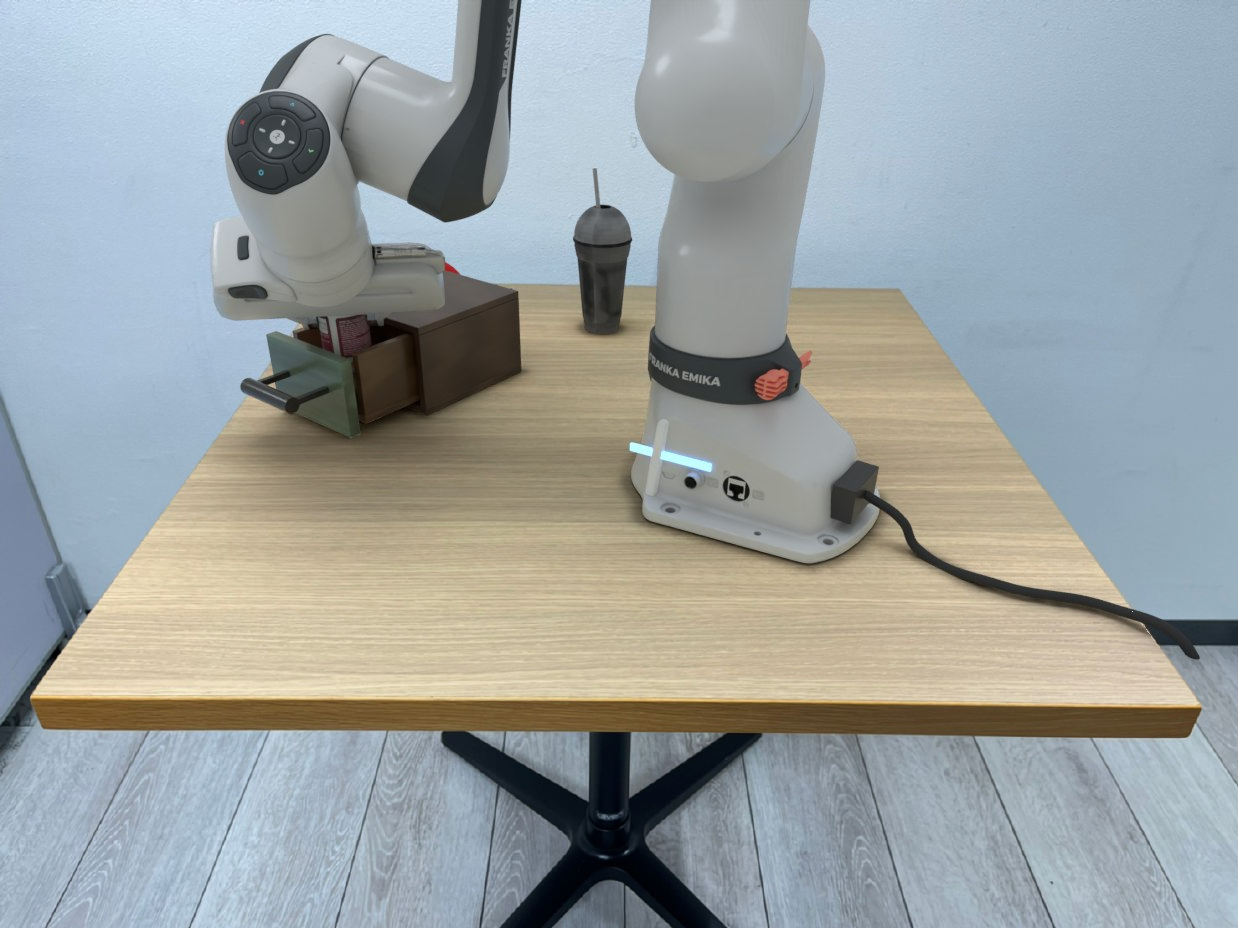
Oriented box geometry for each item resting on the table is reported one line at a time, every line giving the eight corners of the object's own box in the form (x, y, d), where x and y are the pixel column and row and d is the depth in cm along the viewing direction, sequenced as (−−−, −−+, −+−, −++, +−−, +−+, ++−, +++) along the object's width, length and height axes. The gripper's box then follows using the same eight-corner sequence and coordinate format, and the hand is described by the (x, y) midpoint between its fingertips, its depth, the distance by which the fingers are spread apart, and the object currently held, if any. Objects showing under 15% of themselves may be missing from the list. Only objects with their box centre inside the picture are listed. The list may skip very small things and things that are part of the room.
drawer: (307, 458, 84) (294, 380, 80) (235, 422, 90) (219, 349, 86) (452, 392, 97) (447, 323, 93) (381, 365, 103) (373, 299, 99)
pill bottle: (380, 356, 94) (370, 277, 90) (364, 375, 90) (353, 292, 85) (335, 354, 94) (323, 275, 90) (317, 372, 90) (304, 290, 86)
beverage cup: (641, 331, 116) (646, 169, 106) (593, 342, 112) (594, 176, 103) (609, 314, 121) (611, 159, 111) (562, 324, 118) (560, 165, 108)
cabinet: (426, 415, 94) (418, 328, 89) (347, 383, 101) (336, 300, 96) (521, 371, 104) (518, 290, 100) (444, 345, 111) (438, 268, 106)
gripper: (441, 214, 79) (448, 287, 93) (193, 222, 76) (236, 296, 89) (446, 280, 78) (452, 344, 91) (192, 291, 75) (237, 356, 88)
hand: (344, 321), depth 90 cm, fingers closed on pill bottle, 5 cm apart
